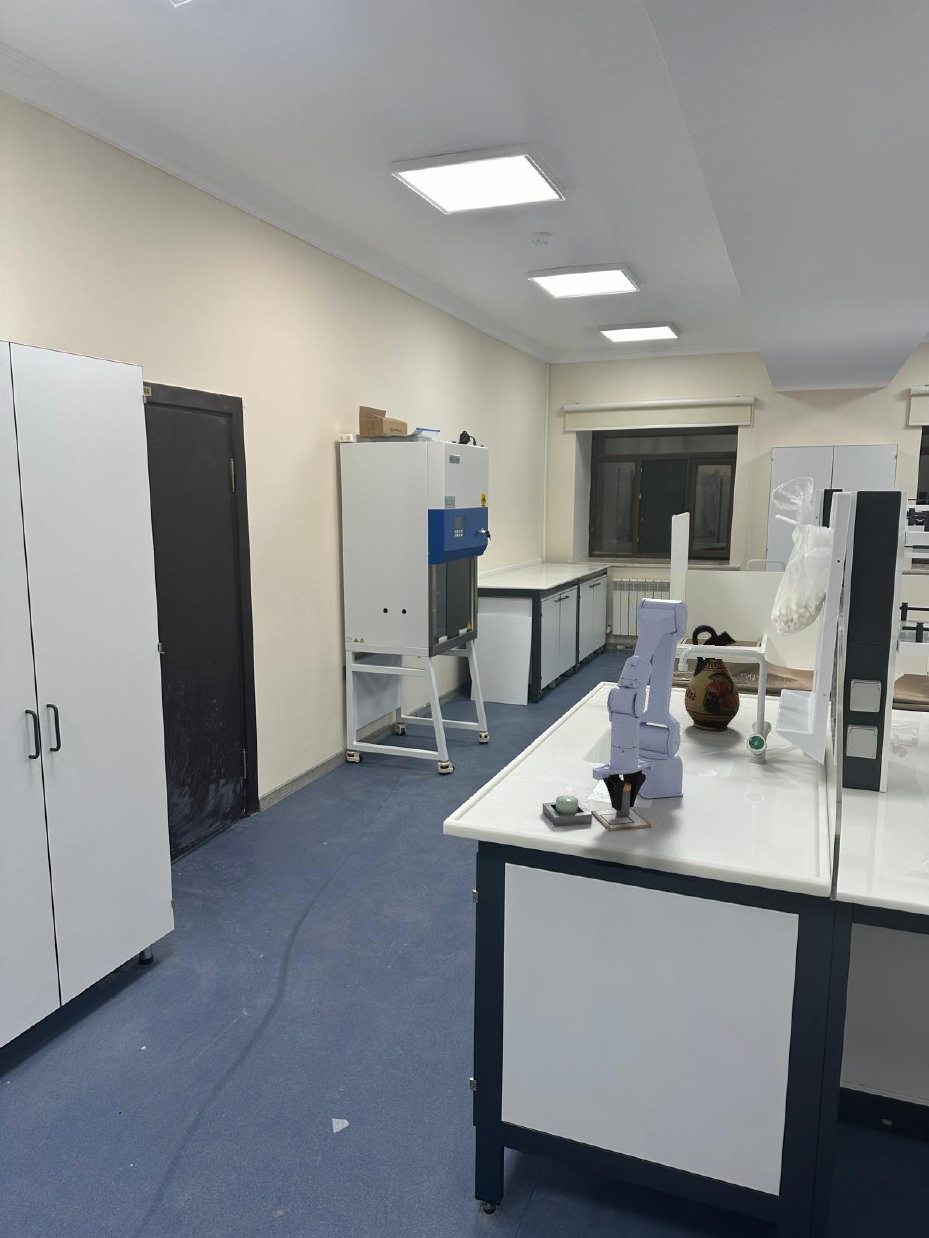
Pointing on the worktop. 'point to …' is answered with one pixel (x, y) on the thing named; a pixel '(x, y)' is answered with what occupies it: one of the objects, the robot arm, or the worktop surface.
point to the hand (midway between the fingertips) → (622, 807)
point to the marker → (625, 801)
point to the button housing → (567, 815)
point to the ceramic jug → (712, 687)
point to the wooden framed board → (620, 820)
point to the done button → (566, 805)
